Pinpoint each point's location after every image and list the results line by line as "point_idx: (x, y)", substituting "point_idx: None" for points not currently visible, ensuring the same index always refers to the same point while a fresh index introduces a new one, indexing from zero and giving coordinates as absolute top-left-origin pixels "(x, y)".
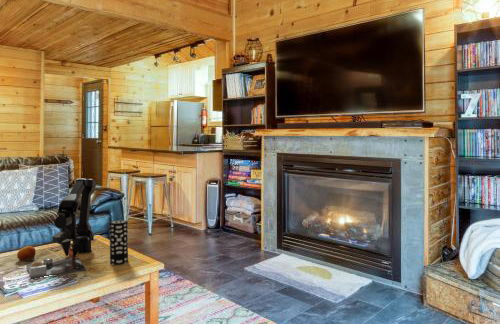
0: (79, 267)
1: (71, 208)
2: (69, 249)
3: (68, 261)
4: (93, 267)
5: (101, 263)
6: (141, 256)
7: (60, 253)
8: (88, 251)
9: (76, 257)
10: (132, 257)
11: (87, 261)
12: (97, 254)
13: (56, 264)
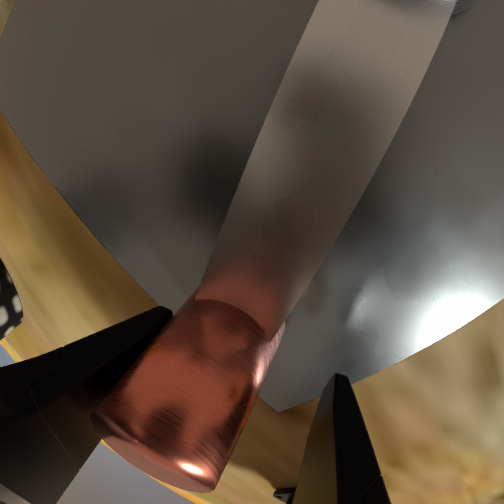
0: (15, 76)
1: None
2: (151, 419)
3: None
4: (3, 163)
5: (25, 261)
6: (15, 360)
7: (488, 473)
8: (288, 493)
9: (266, 396)
10: (22, 354)
11: (127, 314)
12: None
13: None
